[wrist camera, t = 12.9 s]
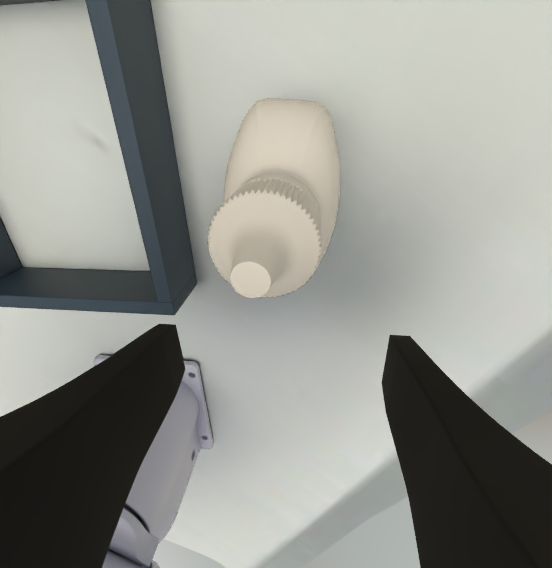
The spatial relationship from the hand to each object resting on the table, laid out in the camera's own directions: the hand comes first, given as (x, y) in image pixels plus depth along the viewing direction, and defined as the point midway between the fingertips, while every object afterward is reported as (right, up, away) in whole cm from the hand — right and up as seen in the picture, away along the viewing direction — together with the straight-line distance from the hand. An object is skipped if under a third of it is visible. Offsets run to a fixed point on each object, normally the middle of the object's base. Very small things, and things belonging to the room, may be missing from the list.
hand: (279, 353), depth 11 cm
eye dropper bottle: (+1, +8, +5) cm, 10 cm away
